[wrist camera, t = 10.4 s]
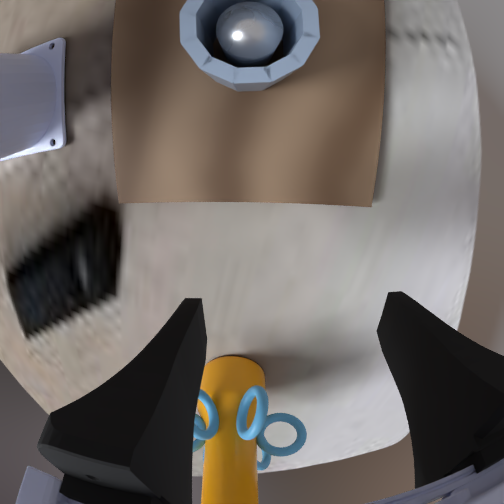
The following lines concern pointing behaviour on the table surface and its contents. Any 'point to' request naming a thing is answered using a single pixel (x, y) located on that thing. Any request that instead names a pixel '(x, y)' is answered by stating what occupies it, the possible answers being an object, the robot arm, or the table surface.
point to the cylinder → (236, 430)
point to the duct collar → (249, 78)
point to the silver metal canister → (249, 34)
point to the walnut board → (247, 114)
